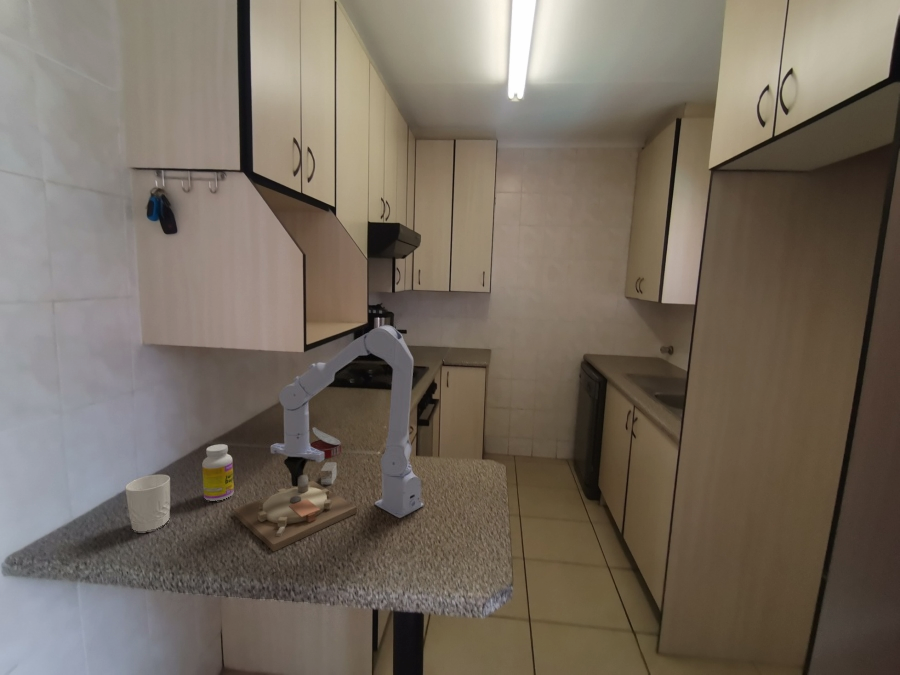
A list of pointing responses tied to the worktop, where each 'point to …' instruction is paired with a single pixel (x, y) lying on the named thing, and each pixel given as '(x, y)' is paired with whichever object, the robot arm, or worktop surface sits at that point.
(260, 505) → the sprocket wheel
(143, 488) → the white cup
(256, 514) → the base board
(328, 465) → the link block
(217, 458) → the supplement bottle
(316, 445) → the canned food
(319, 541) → the worktop surface
